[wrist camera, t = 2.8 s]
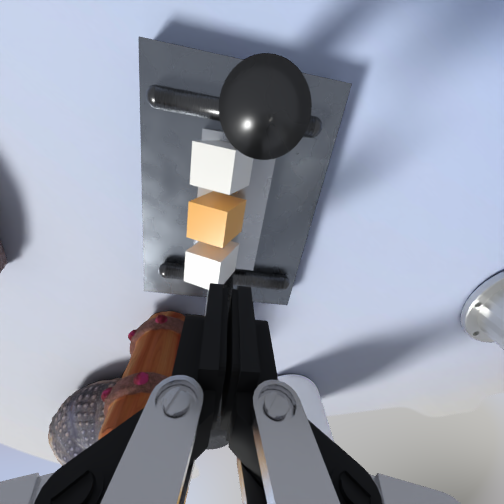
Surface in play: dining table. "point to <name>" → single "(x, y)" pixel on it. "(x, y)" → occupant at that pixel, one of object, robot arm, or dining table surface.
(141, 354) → the mug
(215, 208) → the block
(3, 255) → the stone
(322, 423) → the wine bottle
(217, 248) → the white leaning block
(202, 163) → the white tilted cube
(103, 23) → the dining table surface
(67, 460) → the sea urchin shell
